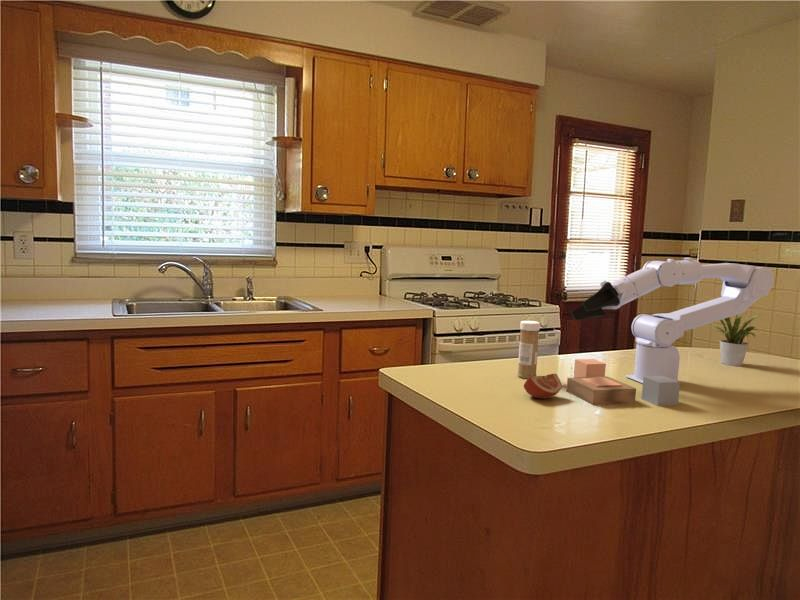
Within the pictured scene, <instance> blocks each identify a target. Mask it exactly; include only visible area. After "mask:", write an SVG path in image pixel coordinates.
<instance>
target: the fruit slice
mask: <svg viewBox="0 0 800 600" xmlns="http://www.w3.org/2000/svg"><path fill="white" fill-rule="evenodd" d="M562 387H563V386H562V381H561V380H560V377H559V376H558V375H557V373H551V374H550V373H549V374H547V375H537V376H533V377H530V378H529V379H526V381H525V382H524V385H523V389H524V390H525V391H526V393H527V394H529V395H530V396H531V397H533V398H536V399H548V398H551V397H554V396H556V395H557V394H558V393H559V392H560V391H561V390H562Z"/></svg>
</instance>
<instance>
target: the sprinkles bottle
mask: <svg viewBox="0 0 800 600" xmlns="http://www.w3.org/2000/svg"><path fill="white" fill-rule="evenodd" d="M519 324H520V326H519V329H520V334H519V335H520V336H519V347H518V360H517V362H518V365H517V366H518V368H517V377H518V378H521V379H526V380H528V379H529V378H530V377H533V376H538V375H537V367H538V366H537V365H538V353H539V351H538V350H539V345H538V344H539V333H540V330H541V329H540V327H541V323H540V322H539V321H536V320H521V321H520V323H519Z"/></svg>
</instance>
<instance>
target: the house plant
mask: <svg viewBox="0 0 800 600" xmlns="http://www.w3.org/2000/svg"><path fill="white" fill-rule="evenodd" d="M746 312H747V311H744V314H746ZM760 315H761V314H755V315H753V316H751V317H750V318H748V319H747V320H746V321H745V322H744V323H743V324H742V326H741V321H742V319H743V318H744V317H742V316H743V314H742V315H741V314H737V315H735V318H734V322H733V326H732V322H731V318H730V317H728V318H725V319H722V320H719V321H720V322H721V324H722V326H723V328H724V329H723V328H720V326H719V327H718V326H713V327H712V329H717V330H719V332H720V333H723V336H725V338H726V339H720V340H719V350H720V363H721V364H723V365H727V366H732V367H741V366H743V364H744V359H745V357H746V353H747V350H748V347H749V343H748V342H746V341H744V339H745V337H746V338H749V335H751V336H753V338H756V334H755V332H752V331H756V330H757V331H758V328H756V326H754V325H753V326H751V325H750V326H748V325H749V324H750V323H751V322H753V321H754V320H755V319H756V318H759V316H760ZM723 320H724V321H725V322H724V321H723ZM740 326H741V328H740ZM747 326H748V327H747Z"/></svg>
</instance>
